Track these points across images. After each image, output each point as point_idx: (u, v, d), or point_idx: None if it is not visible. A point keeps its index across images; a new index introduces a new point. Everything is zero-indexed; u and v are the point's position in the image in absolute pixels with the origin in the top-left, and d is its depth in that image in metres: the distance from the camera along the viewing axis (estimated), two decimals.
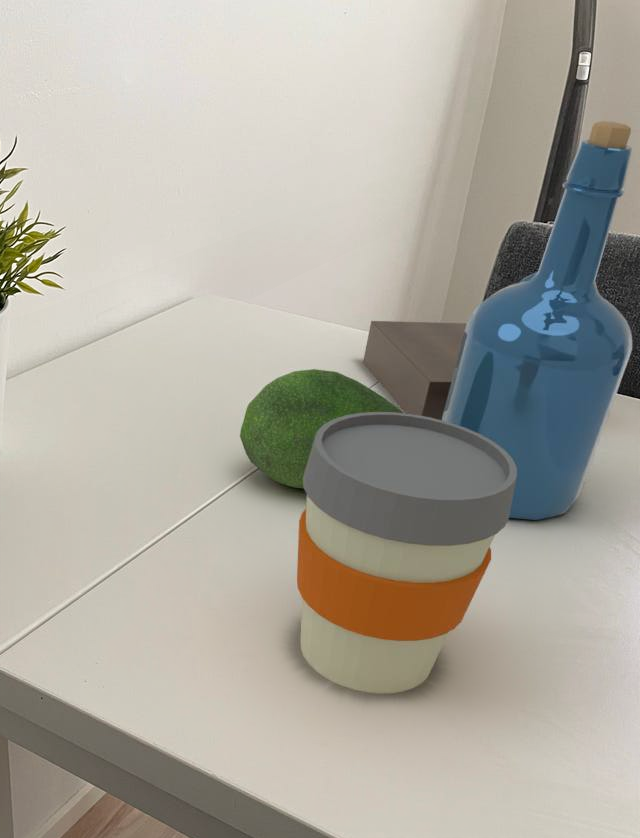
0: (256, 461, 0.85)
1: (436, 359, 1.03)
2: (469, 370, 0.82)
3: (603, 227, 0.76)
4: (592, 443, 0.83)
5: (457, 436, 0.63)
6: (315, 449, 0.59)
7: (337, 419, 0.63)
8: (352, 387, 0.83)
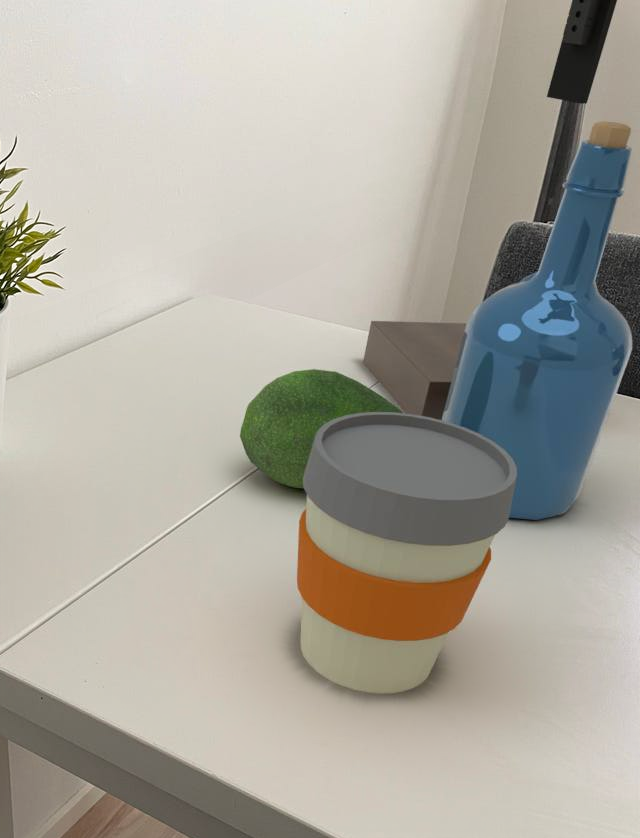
0: (256, 461, 0.85)
1: (436, 359, 1.03)
2: (469, 370, 0.82)
3: (603, 227, 0.76)
4: (592, 443, 0.83)
5: (457, 436, 0.63)
6: (315, 449, 0.59)
7: (337, 419, 0.63)
8: (352, 387, 0.83)
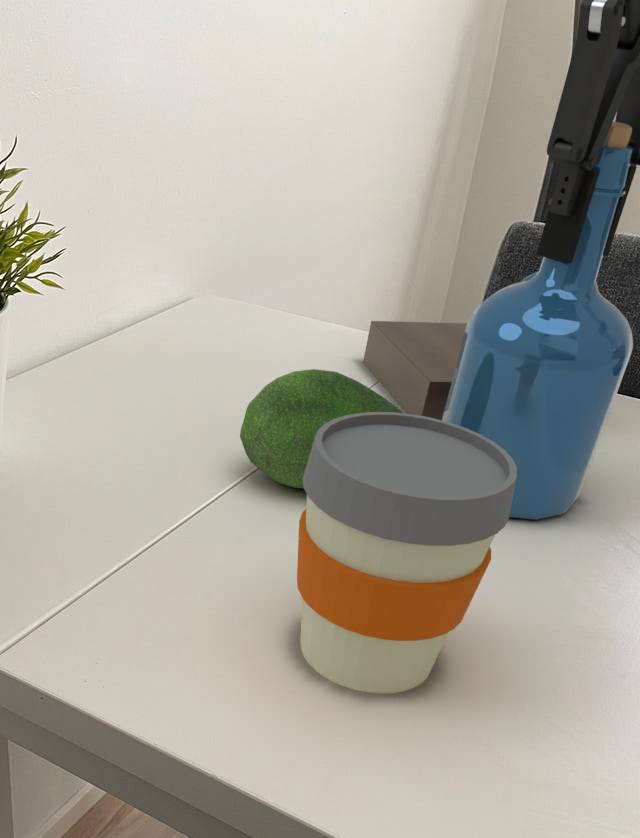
0: (256, 461, 0.85)
1: (436, 359, 1.03)
2: (469, 369, 0.82)
3: (604, 226, 0.76)
4: (592, 443, 0.83)
5: (457, 436, 0.63)
6: (315, 449, 0.59)
7: (337, 419, 0.63)
8: (352, 387, 0.83)
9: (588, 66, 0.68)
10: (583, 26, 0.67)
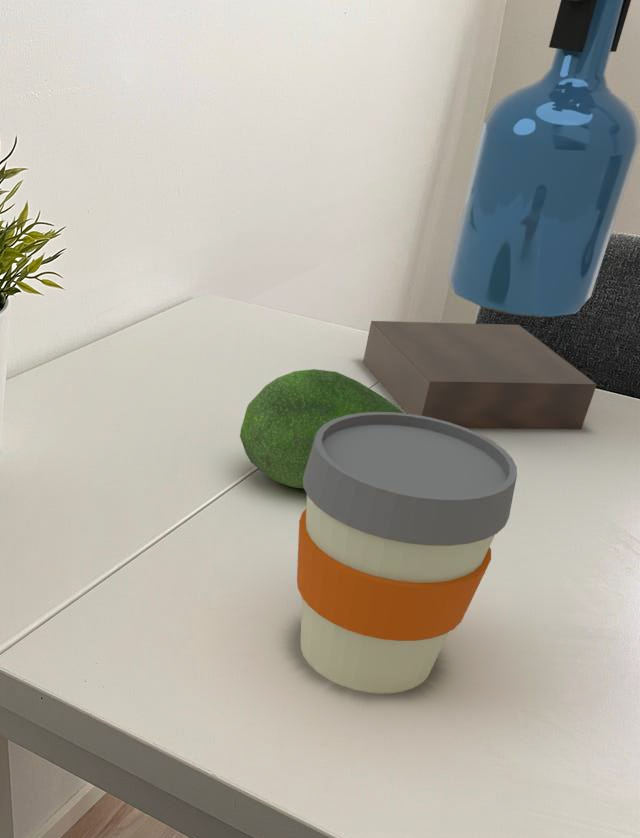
0: (256, 461, 0.85)
1: (436, 359, 1.03)
2: (485, 167, 0.87)
3: (613, 15, 0.80)
4: (603, 236, 0.87)
5: (457, 436, 0.63)
6: (315, 449, 0.59)
7: (337, 419, 0.63)
8: (352, 387, 0.83)
9: None
10: None
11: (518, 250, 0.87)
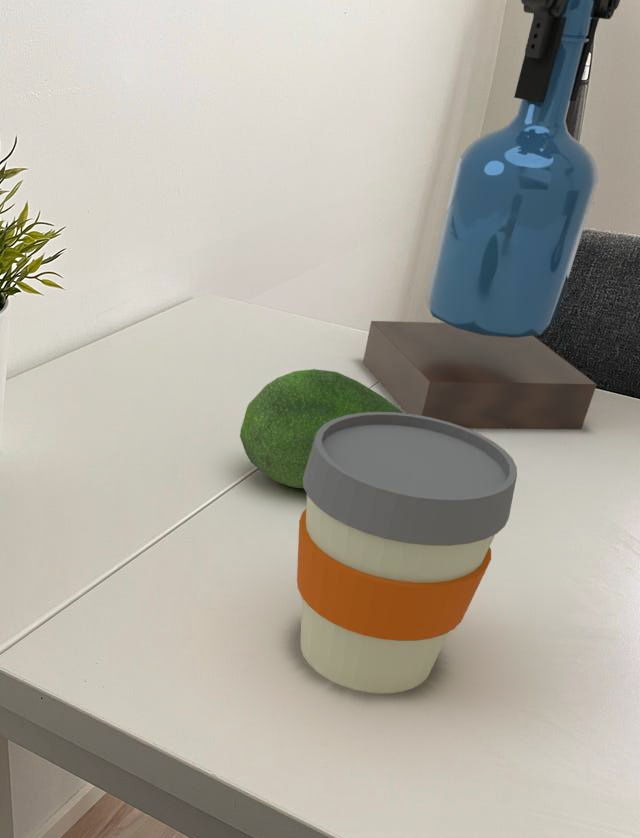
0: (256, 461, 0.85)
1: (436, 359, 1.03)
2: (458, 203, 0.96)
3: (571, 70, 0.90)
4: (564, 266, 0.96)
5: (457, 436, 0.63)
6: (315, 449, 0.59)
7: (337, 419, 0.63)
8: (352, 387, 0.83)
9: None
10: None
11: (487, 278, 0.96)
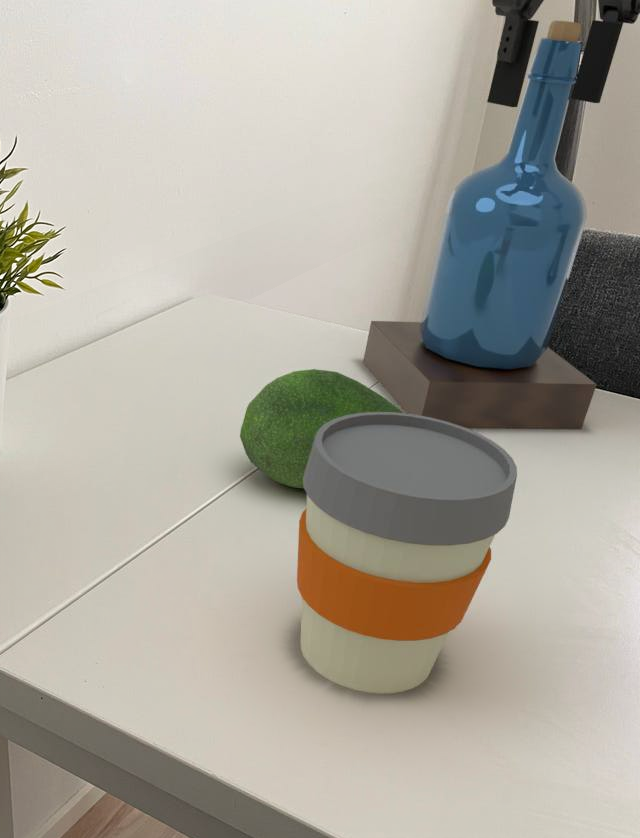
0: (256, 461, 0.85)
1: (436, 359, 1.03)
2: (450, 238, 0.98)
3: (560, 110, 0.91)
4: (554, 300, 0.98)
5: (457, 436, 0.63)
6: (315, 449, 0.59)
7: (337, 419, 0.63)
8: (352, 387, 0.83)
9: None
10: None
11: (478, 312, 0.98)
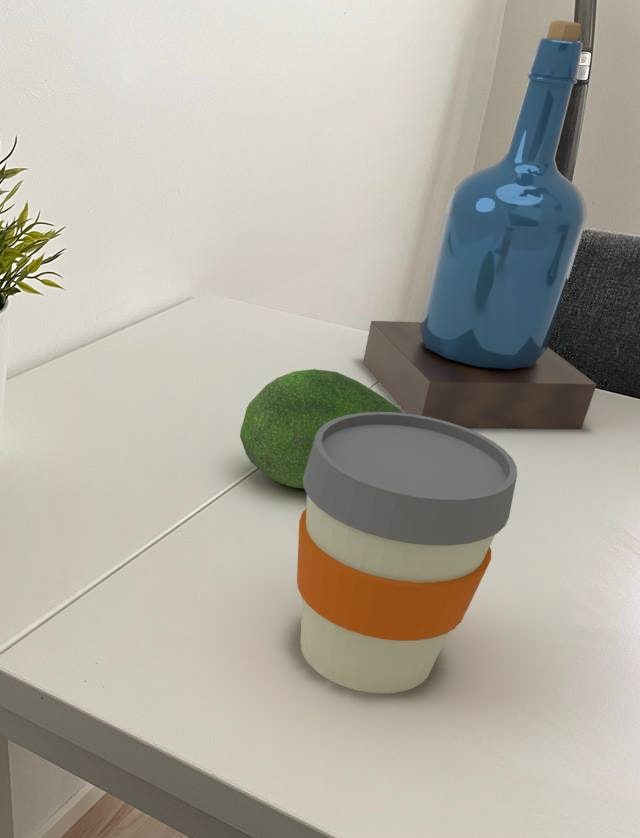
0: (256, 461, 0.85)
1: (436, 359, 1.03)
2: (450, 238, 0.98)
3: (560, 110, 0.91)
4: (554, 300, 0.98)
5: (457, 436, 0.63)
6: (315, 449, 0.59)
7: (337, 419, 0.63)
8: (352, 387, 0.83)
9: None
10: None
11: (478, 312, 0.98)
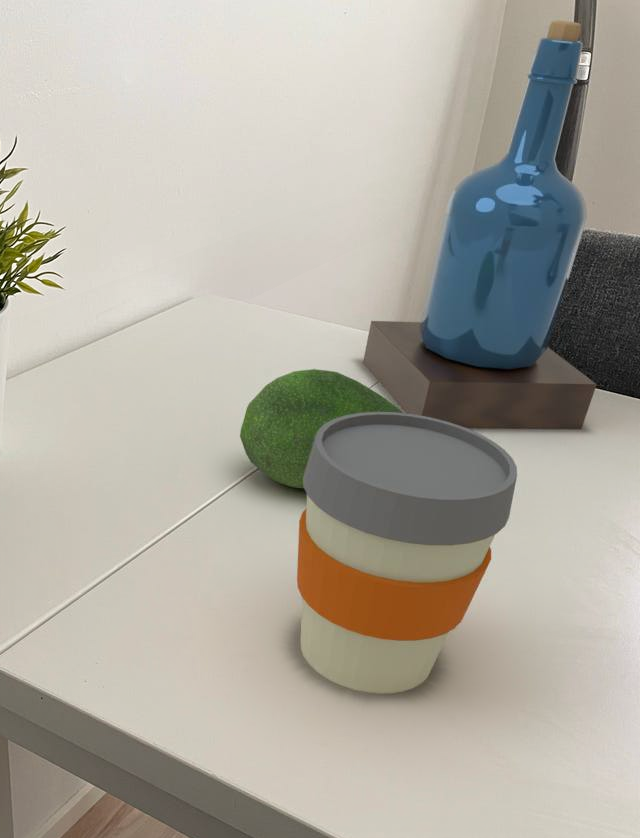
0: (256, 461, 0.85)
1: (436, 359, 1.03)
2: (450, 238, 0.98)
3: (560, 110, 0.91)
4: (554, 300, 0.98)
5: (457, 436, 0.63)
6: (315, 449, 0.59)
7: (337, 419, 0.63)
8: (352, 387, 0.83)
9: None
10: None
11: (478, 312, 0.98)
